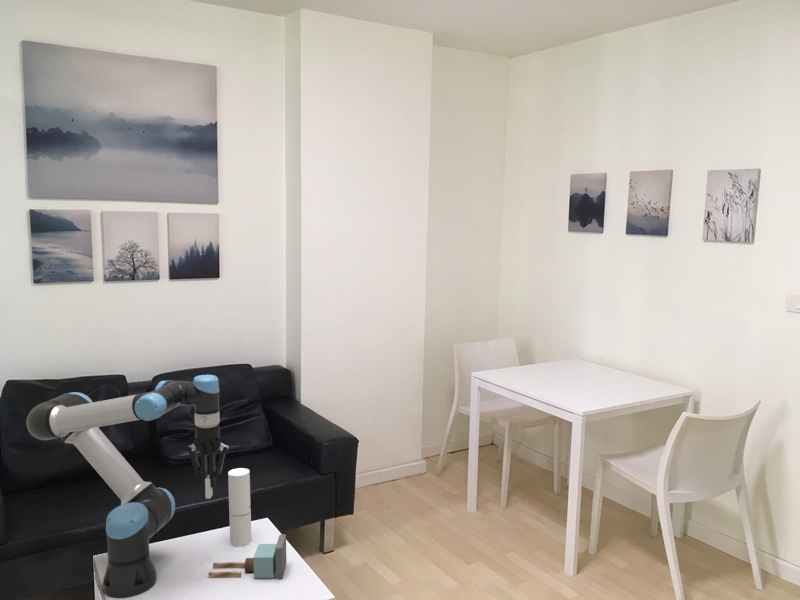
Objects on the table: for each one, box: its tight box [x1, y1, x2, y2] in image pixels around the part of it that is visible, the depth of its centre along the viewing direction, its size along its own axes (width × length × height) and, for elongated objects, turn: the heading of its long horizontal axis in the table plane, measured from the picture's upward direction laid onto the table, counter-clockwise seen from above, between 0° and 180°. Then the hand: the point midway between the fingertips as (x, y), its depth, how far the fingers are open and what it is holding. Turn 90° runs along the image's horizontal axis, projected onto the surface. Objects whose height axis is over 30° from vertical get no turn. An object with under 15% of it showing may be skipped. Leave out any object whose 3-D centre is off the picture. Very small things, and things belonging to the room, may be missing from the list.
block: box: [252, 543, 277, 579], centre depth 204 cm, size 6×9×7 cm
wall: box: [275, 534, 287, 580], centre depth 204 cm, size 2×9×10 cm, turn 2°
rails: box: [207, 561, 245, 579], centre depth 204 cm, size 10×6×2 cm, turn 92°
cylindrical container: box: [227, 467, 252, 547], centre depth 222 cm, size 7×7×25 cm
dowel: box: [244, 557, 254, 573], centre depth 205 cm, size 8×4×4 cm, turn 92°
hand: (209, 496), depth 205 cm, fingers closed
